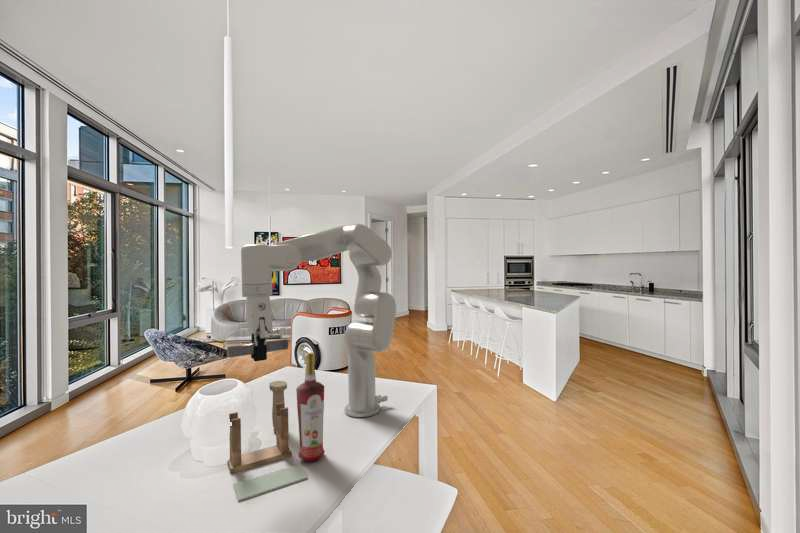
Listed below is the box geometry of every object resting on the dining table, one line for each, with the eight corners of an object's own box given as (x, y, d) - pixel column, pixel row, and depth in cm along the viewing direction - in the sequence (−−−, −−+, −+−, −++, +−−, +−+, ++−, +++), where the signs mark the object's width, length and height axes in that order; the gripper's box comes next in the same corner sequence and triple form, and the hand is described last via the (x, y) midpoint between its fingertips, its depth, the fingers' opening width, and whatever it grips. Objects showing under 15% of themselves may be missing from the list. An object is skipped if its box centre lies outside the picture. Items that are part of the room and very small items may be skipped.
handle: (275, 437, 110) (275, 387, 110) (267, 430, 114) (266, 383, 114) (290, 432, 113) (290, 384, 113) (282, 426, 118) (281, 379, 118)
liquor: (302, 468, 92) (300, 358, 92) (294, 456, 99) (292, 353, 99) (329, 459, 96) (327, 354, 96) (320, 448, 102) (318, 349, 103)
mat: (298, 465, 94) (298, 464, 94) (307, 478, 88) (307, 477, 88) (233, 485, 85) (233, 484, 85) (238, 501, 80) (238, 500, 80)
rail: (285, 348, 103) (285, 338, 103) (288, 350, 100) (288, 340, 100) (227, 356, 95) (227, 345, 95) (228, 358, 92) (228, 347, 92)
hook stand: (285, 446, 104) (284, 401, 104) (291, 455, 99) (290, 408, 99) (227, 463, 96) (226, 413, 96) (230, 473, 91) (229, 421, 91)
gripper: (279, 291, 92) (281, 363, 93) (265, 288, 106) (266, 351, 106) (247, 293, 88) (249, 368, 89) (237, 290, 102) (238, 355, 102)
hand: (258, 358), depth 97 cm, fingers closed on rail, 2 cm apart
